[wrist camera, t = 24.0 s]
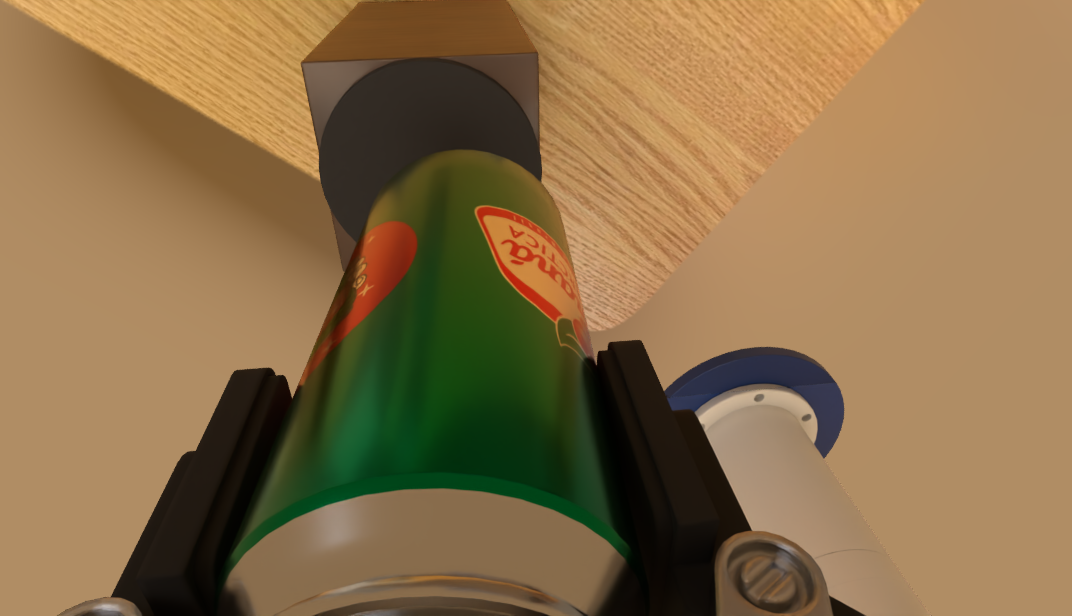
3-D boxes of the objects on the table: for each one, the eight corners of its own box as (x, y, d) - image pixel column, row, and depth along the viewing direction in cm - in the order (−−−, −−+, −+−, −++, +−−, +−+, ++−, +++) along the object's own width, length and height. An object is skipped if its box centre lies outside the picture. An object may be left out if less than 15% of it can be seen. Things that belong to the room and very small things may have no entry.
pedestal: (510, 139, 40) (541, 258, 26) (380, 146, 39) (342, 272, 26) (505, -3, 35) (538, 52, 22) (358, 2, 35) (300, 62, 21)
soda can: (588, 280, 18) (720, 772, 8) (423, 340, 18) (340, 864, 8) (520, 109, 15) (580, 502, 5) (332, 186, 16) (49, 667, 6)
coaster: (541, 258, 26) (543, 265, 26) (342, 272, 26) (340, 279, 25) (538, 52, 22) (540, 55, 21) (300, 62, 21) (296, 65, 21)
